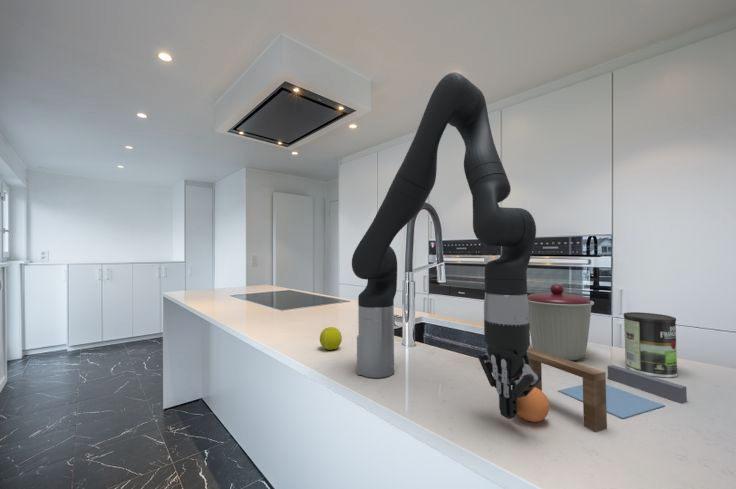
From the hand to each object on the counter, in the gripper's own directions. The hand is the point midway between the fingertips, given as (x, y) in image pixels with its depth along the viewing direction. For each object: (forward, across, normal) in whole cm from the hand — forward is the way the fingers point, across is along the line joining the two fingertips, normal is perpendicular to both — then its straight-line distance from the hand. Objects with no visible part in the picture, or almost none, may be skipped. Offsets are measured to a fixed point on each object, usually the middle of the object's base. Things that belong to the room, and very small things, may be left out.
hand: (508, 416), depth 58 cm
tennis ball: (+2, +57, +18) cm, 60 cm away
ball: (-1, 0, -5) cm, 5 cm away
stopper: (+2, +1, -39) cm, 39 cm away
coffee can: (+2, +7, -54) cm, 55 cm away
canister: (+2, +25, -43) cm, 50 cm away
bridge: (+2, 0, -13) cm, 13 cm away
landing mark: (+2, 0, -27) cm, 27 cm away
